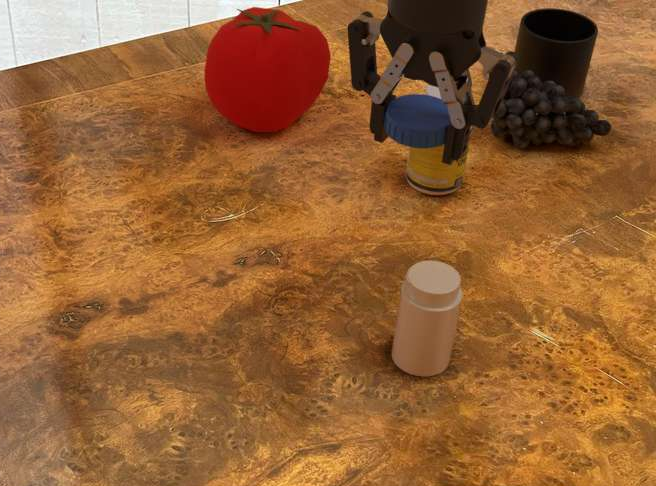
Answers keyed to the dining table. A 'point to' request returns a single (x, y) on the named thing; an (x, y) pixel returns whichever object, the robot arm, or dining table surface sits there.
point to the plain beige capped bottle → (427, 318)
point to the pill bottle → (434, 165)
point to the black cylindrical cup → (556, 47)
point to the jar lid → (417, 121)
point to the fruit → (544, 114)
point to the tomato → (266, 69)
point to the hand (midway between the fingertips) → (416, 148)
